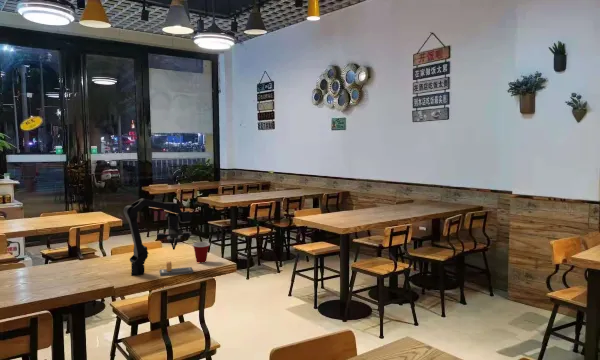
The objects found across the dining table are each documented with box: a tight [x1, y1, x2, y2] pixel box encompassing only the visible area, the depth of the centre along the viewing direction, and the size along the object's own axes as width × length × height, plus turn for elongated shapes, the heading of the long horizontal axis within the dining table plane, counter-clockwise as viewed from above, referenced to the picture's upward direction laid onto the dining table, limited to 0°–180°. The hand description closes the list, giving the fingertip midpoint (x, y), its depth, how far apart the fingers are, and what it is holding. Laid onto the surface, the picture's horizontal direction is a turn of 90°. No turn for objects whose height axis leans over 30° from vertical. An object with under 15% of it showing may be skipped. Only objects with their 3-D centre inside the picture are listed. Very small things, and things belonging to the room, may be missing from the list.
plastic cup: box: [192, 241, 211, 263], centre depth 279 cm, size 11×11×12 cm
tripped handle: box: [165, 261, 173, 271], centre depth 253 cm, size 2×4×4 cm, turn 20°
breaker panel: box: [159, 266, 194, 277], centre depth 255 cm, size 18×8×2 cm, turn 110°
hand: (173, 249), depth 264 cm, fingers closed
